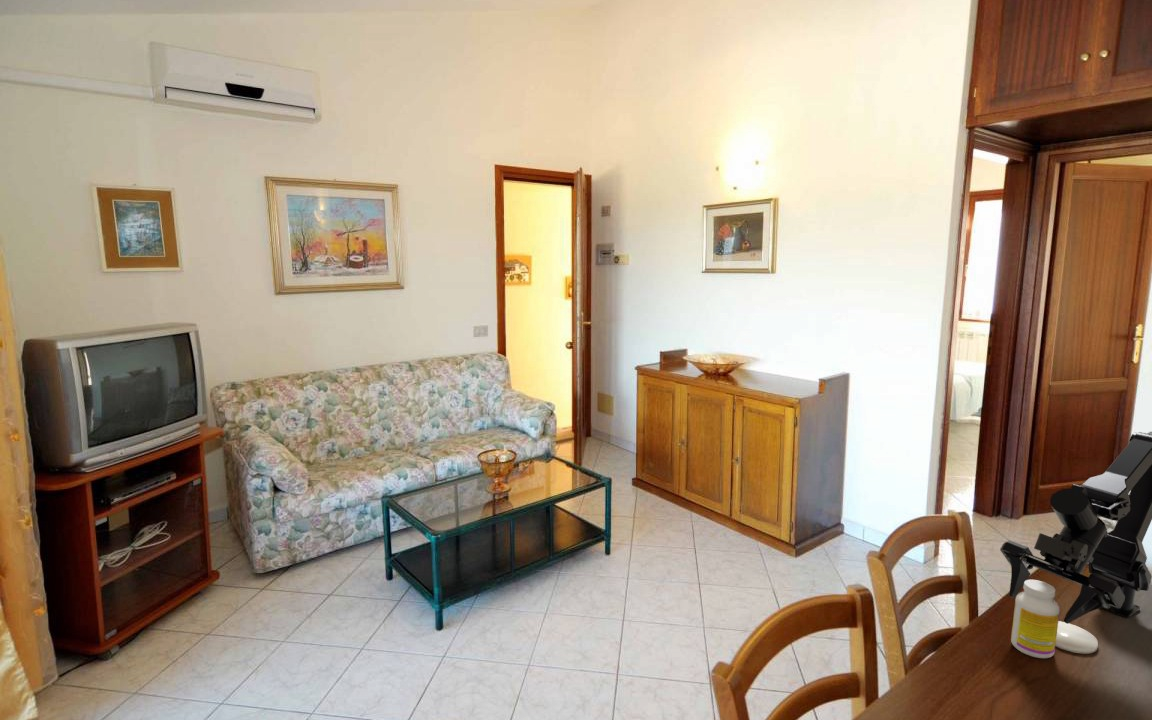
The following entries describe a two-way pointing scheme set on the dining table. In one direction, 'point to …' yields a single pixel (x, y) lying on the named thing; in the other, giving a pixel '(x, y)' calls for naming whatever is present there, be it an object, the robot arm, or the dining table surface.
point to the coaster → (1075, 639)
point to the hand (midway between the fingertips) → (1037, 609)
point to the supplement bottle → (1035, 620)
